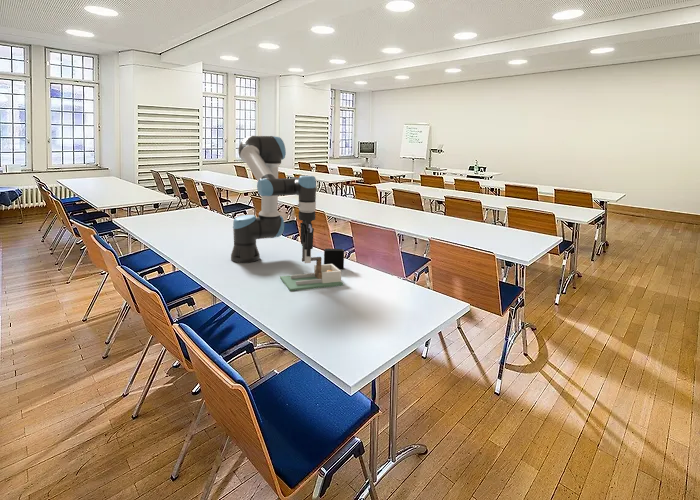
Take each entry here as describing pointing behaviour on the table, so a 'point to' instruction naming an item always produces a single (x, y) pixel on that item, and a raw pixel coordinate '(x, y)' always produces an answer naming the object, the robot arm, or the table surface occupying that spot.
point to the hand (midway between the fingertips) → (306, 261)
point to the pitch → (314, 279)
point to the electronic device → (334, 257)
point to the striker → (318, 263)
